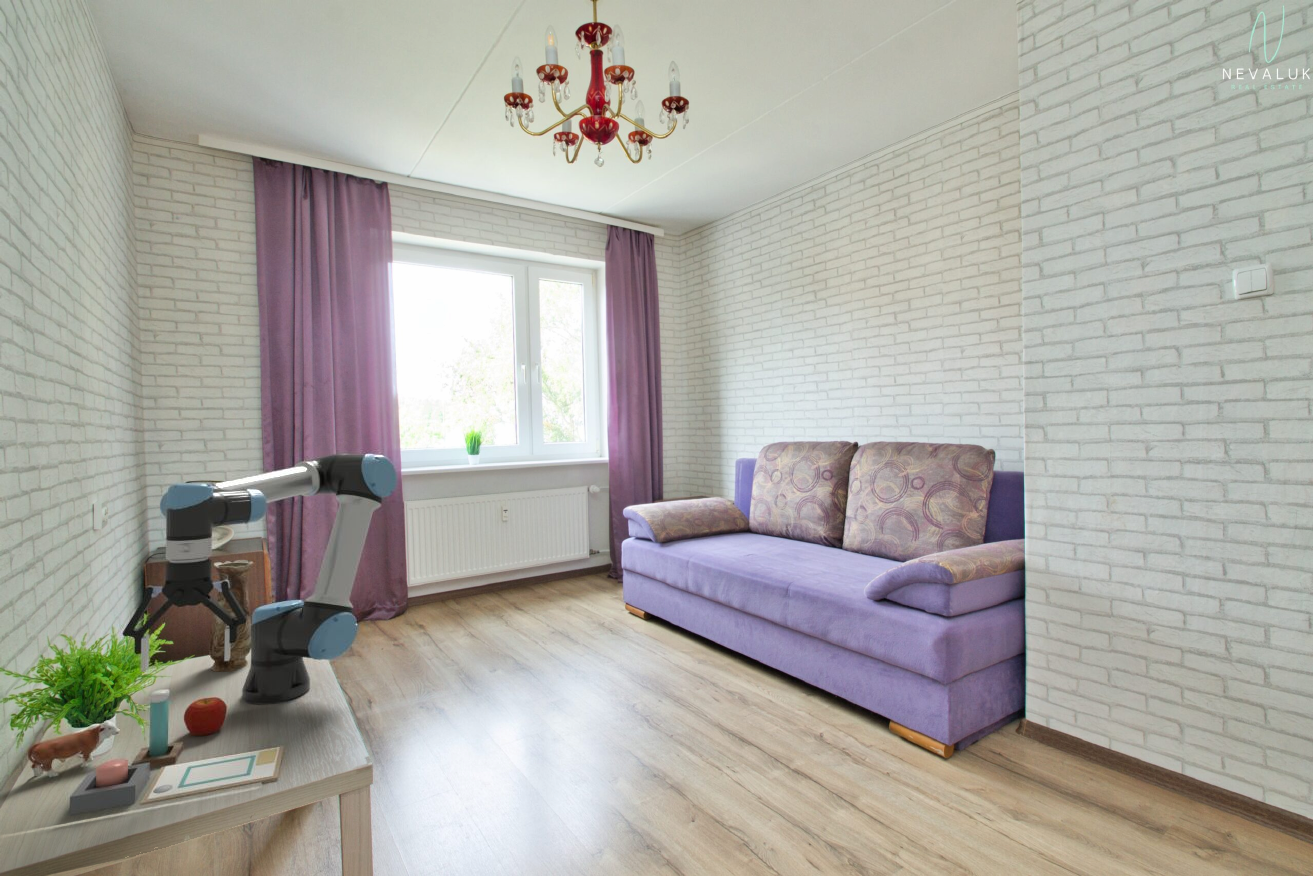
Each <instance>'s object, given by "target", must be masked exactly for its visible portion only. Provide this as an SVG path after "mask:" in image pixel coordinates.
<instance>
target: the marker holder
mask: <svg viewBox="0 0 1313 876" xmlns="http://www.w3.org/2000/svg"><path fill="white" fill-rule="evenodd" d="M183 750H184V741H180V742H173V743H168V750H167V751H166V755H165V756H159V757H153V758H151V755H149V746H148V747H142V748H141V749H140V750H139V752H138V753H137V755H136V756H135V758H134V759H133V760H132V762H131V764H130V766H131V765H137V764H143V763H149V762H150V769H152V768H157V767H164V766H169V765H175V764H177V761H178V760H179V758H180V755H181V754H182V752H183Z"/></svg>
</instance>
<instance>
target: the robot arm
mask: <svg viewBox="0 0 1313 876" xmlns="http://www.w3.org/2000/svg"><path fill="white" fill-rule="evenodd" d="M397 482H398V476H397V471H396V468H395V465H394V463H393V462H392V461H391V459H390V458H388V457H387V456H384V455H382V454H375V453H367V454H366V453H334V454H330V455H325V456H321V457H317V458H312V459H308V460H305V461H304V460H303V461H300V462H296V463H295V464H294V466H292V467H288V468H284V469H283V468H281V469H278V470H273V471H268V472H263V473H259V474H252V475H249V476H244V477H238V478H234V479H228V480H225V481H224V480H223V481H218V482H214V483H208V482H190V483H189V482H187V483H185V482H184V483H183V482H182V483H175V484H172V485H170V486H169V487H168V489H167V491H166V492H165V493H164V494H163V496H162V497H161V498H160V501H159V502H160V503H159V508H160V511H161V514H162V515H163V517H165V518H166V520H165V522H166V524H165V525H166V526H165V527H166V530H165V532H166V533H165V534H166V540H165V541H166V542H165V559H166V560H167V562H166V563H165V569H164V570H165V572H164V574H165V579H164V585H163V586H159V585H158V586H155V585H153V584H149V585H148V586H146V588H145V589H144V593H143V599H142V600H141V602H140V603H139V605H138V607H137V608H136V610H135V612H134V614H133V615H132V617H131V618H130V620H129V622H128V623H127V624H126V626H125V628H124V629H123V631H122V636H123V637H132V638H133V639H134V649H133V650H134V654H135V655H140V672H141V673H143V672H146V671H147V670H148V669H149V667H150V666H149V665H150V634H145V633H147V632H148V630H149V629H150V628H152V626H153V625H155V623H156V622H157V621H159V619H160V618H161V617H162V616H163V615H164V614H165V613H166V612H167V611H168V610H169V609H170V608H171V607H172V606H175V607H178V608H182V607H186V606H191V607H193V606H197V605H199V604H202V605H203V606H204V607H206V608H208V609H209V610H210V611H211V612H212V613H213V615H214V614H216V615H217V616H218V617H219V618H220V619H221V620H222V621H223V622H224V623H226V624H227V625H228V626H226V628H225V656H224V661H229V659H230V645H231V643H235V642H236V639H237V626H239V625H241V624H244V623H246V621H247V616H246V614H245V612H244V611H243V609H242V607H241V606H240V604H239V603H238V601H237V599H236V598H235V596H234V594H233V593H232V591H231V589H230V582H229V580H228V579H224V580H223V581H220V582H219V581H214V582H213V580H212V559H211V558H209V557H211V556H212V555H213V554H212V550H213V549H212V547H213V543H212V542H213V537H212V536H213V528H216V527H217V528H218V527H221V526H222V527H223V526H233V525H241V524H245V525H247V524H249V523H255V522H258V521H259V520H261V519H262V518H264V516H265V515H266V512H267V510H268V509H267V508H268V507H267V506H268V505H267V504H268V503H272V502H276V501H280V500H283V499H284V500H285V499H288V498H292V497H296V496H303V497H311V496H315V495H334V496H335V499H336V500H337V502H338V504H339V506H338V508H337V512H336V516H335V519H334V522H333V526H332V528H331V532H330V535H329V540H328V543H327V547H326V550H325V553H324V555H323V561H322V563H321V567H320V570H319V574H318V577H317V580H316V584H315V587H314V591H313V594H311V596H309V597H307V598H305V599H304V600H301V599H292V600H291V599H290V600H284V601H278V602H273V603H268V604H265V605H261V606H259V607H257V608H256V609H254V610H253V612H252V614H251V649H250V668H249V671H248V673H247V675H246V678H245V682H244V684H243V687H242V689H241V695H242V696H241V699H242V701H244V702H245V703H248V704H256V705H261V704H262V705H264V704H275V703H280V702H281V703H282V702H284V701H288V700H292V699H295V698H298V697H300V696H303V695H304V694H306V693H308V692H309V690H310V688H311V677H310V674H309V672H308V669H307V666H306V664H305V661H304V658H307V659H313V660H319V661H321V660H325V661H328V660H329V661H330V660H334V659H337V658H340V657H341V656H342V655H344V653H346V652H348V650H349V649H350V648H351V646H352V645H353V644H354V642H355V639H356V637H357V633H358V629H359V627H358V626H359V625H358V623H357V622H358V620H357V618H356V616H355V615H353V614H352V613H353V610H354V606H353V604H352V602H351V601H350V597H351V595H352V594H351V593H352V590H353V586H354V583H355V579H356V576H357V571H358V568H359V564H360V561H361V557H362V553H363V551H364V547H365V543H366V539H367V535H368V532H369V529H370V526H371V521H372V518H373V517H372V516H373V513H374V512H375V511H376V510H377V509H379V508H380V507H381V506H382V504H383V499H384V498H387V497H389V496H391V495H392V493H394V492H395V490H396V487H397V484H398V483H397ZM213 589H216V590H217V592H218V591H219V592H222V594H223V596H224V598H225V599H226V601H227V602H228V604H229V606H230V607H231V609H232V611H233V612H234V614H235V615H236V617H237V619H235V618H234V617H232V616H231V615H230V614H229V613H228V612H227V611H226V610H225V609H224V608H222V607H221V606H220V605H219V604H218V603H217V602H216V601H217V600H215V599H214V598H213V596H211V595H210V593H211V592H212V591H213ZM160 593H162V595H163V596H164V597H166V599H167V600H166V602H165V603H163V605H161V607H159V608H158V610H157V611H155V613H154V614H153V615H151V617H150V618H149V619H148V620H147V621H146V622H145V623H143V624H142V626H141V627H140V628H139V629H138V628H136V627H137V625H138V623H139V622H140V620H141V619H142V617H143V615H144V614H145V612H146V611H147V609H148V607H149V605H150V604H151V602H152V601H153V598H154V599H155V598H157V596H159V594H160Z"/></svg>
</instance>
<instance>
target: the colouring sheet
mask: <svg viewBox="0 0 1313 876" xmlns="http://www.w3.org/2000/svg"><path fill="white" fill-rule="evenodd" d="M284 752H285V745H282V746H276V747H269V748H265V749H259V750H254V751H253V750H252V751H247V752H246V751H245V752H240V753H236V754H235V753H234V754H229V755H223V756H218V757H212V758H205V759H199V760H194V761H188V762H182V763H175V764H170V765H165V766H160V769H158V772H157V774H156V776H155V778H154V779H153V781H152V783H151V784H150V787H149V788H148V790H147V792H146V793H145V795H144V796H143V798H142V800H141V802H140V805H145V804H150V803H156V802H161V801H166V800H171V799H177V798H182V797H186V796H192V795H197V794H203V793H204V794H205V793H208V792H215V791H219V790H220V791H221V790H224V789H230V788H235V787H240V786H247V785H251V784H257V783H261V784H266V783H270V782H271V783H272V782H276V781H278V779H279V775H280V769H281V765H282V760H283V755H284Z"/></svg>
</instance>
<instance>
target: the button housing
mask: <svg viewBox="0 0 1313 876" xmlns="http://www.w3.org/2000/svg"><path fill="white" fill-rule="evenodd" d="M150 770H151V768H150V762H149V763H143V764H137V765H131V764H130V765H128V778H127V780H126V781H124V782H122V783H120V784H118V785H113V786H108V787H102V788H98V787H96V770H95V771H91V772H88V773H87V775H86V776H85V777H84V779H82V781H81V782H80V783H79V785H78V786H77V787H76V788H75V790H74V791H73V793H72V794H71V795H70V796H69V816H73V815H78V814H84V813H87V812H88V813H90V812H94V811H100V810H103V809H104V810H105V809H111V808H115V807H121V806H126V805H131V804H136V802H137V801H138V799H139V798H140V796H141V793H142V792H143V790H144V789H145V787H146V786H147V783H148V782H149V780H150V779H151V778H150V777H151V775H150V773H151V772H150Z"/></svg>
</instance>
